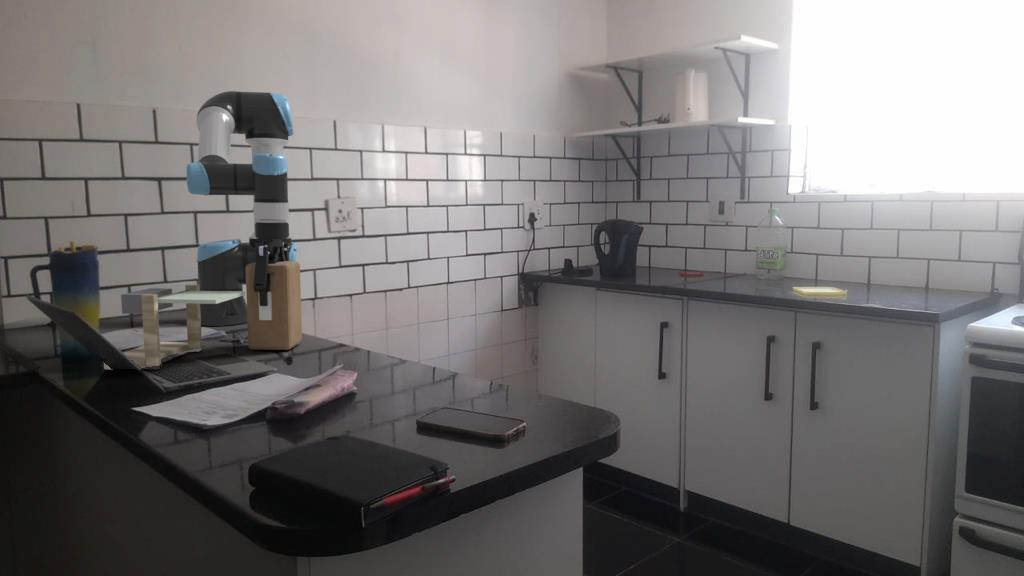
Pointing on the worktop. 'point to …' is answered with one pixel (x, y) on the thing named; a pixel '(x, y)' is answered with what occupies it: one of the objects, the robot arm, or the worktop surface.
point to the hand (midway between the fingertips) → (274, 316)
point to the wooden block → (275, 308)
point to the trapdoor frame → (152, 345)
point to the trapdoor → (174, 298)
